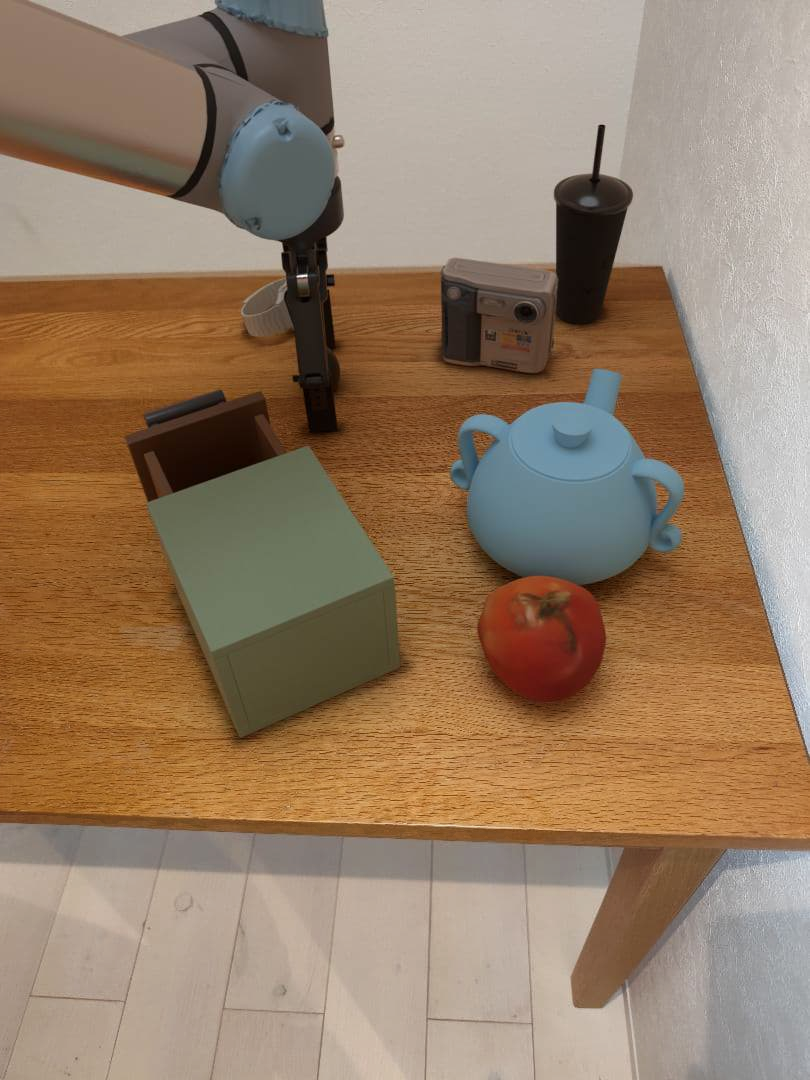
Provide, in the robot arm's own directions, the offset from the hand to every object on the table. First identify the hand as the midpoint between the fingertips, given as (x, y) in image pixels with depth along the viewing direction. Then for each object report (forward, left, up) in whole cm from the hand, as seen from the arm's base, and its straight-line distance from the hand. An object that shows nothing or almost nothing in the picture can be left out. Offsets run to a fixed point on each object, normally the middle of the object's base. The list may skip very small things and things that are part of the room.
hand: (323, 385), depth 90 cm
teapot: (+21, -20, 0) cm, 29 cm away
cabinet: (-3, -30, 0) cm, 30 cm away
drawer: (-8, -19, +1) cm, 20 cm away
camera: (+18, +3, 0) cm, 18 cm away
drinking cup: (+28, +10, 0) cm, 30 cm away
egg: (0, 0, 0) cm, 0 cm away
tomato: (+16, -35, 0) cm, 38 cm away
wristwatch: (-5, +12, 0) cm, 13 cm away
